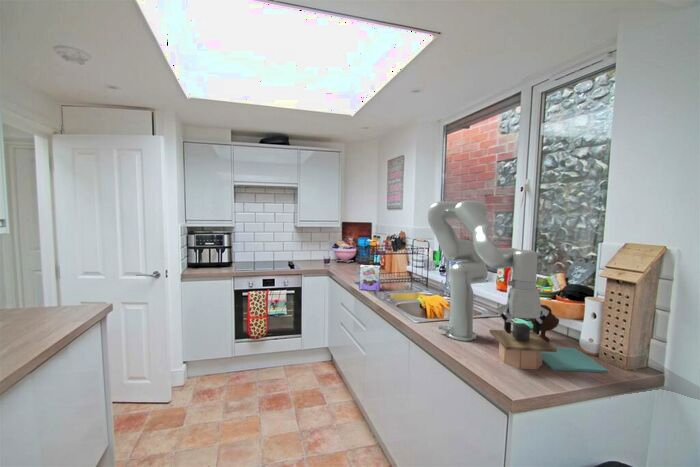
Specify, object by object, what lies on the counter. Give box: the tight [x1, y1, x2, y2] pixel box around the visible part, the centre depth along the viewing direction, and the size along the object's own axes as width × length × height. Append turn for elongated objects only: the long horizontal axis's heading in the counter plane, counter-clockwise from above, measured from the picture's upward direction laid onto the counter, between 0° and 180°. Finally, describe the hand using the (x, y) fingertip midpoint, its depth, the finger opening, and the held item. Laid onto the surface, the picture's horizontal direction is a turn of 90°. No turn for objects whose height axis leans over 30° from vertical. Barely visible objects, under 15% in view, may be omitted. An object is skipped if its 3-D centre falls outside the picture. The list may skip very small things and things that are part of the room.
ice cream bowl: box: [529, 304, 560, 343], centre depth 136 cm, size 11×11×15 cm
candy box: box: [358, 264, 381, 292], centre depth 220 cm, size 14×6×16 cm, turn 80°
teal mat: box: [542, 346, 609, 374], centre depth 118 cm, size 18×18×1 cm
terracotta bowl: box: [498, 341, 543, 370], centre depth 116 cm, size 13×13×7 cm
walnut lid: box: [489, 322, 557, 352], centre depth 116 cm, size 16×16×6 cm
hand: (521, 332), depth 115 cm, fingers open, 9 cm apart
